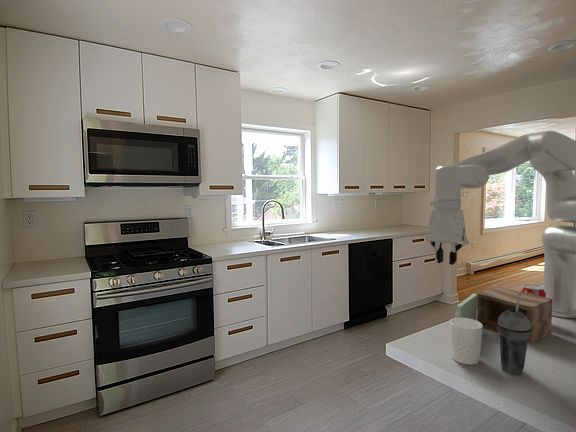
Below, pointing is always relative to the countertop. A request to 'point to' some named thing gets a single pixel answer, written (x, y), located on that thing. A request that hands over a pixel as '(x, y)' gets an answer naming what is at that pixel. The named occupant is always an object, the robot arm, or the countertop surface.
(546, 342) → the countertop surface
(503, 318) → the beverage cup
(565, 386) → the countertop surface
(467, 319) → the white cup
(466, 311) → the door
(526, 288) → the soda can
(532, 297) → the wooden storage crate
